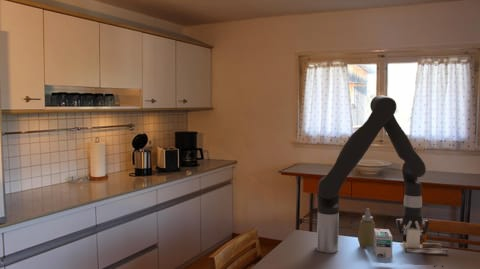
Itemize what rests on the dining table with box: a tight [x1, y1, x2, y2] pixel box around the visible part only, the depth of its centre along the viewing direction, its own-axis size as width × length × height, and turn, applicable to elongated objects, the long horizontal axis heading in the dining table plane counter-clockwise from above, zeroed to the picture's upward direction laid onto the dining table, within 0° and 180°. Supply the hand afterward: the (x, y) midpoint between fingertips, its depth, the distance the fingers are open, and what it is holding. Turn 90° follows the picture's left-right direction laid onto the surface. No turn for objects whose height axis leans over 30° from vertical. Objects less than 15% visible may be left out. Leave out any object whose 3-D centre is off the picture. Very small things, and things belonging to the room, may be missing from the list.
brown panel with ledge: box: [399, 242, 448, 255], centre depth 192 cm, size 17×12×4 cm
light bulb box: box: [373, 227, 393, 259], centre depth 186 cm, size 11×7×11 cm, turn 168°
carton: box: [402, 228, 421, 248], centre depth 193 cm, size 5×8×9 cm, turn 172°
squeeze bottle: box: [357, 207, 376, 250], centre depth 198 cm, size 8×8×18 cm
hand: (411, 242), depth 193 cm, fingers closed on carton, 5 cm apart
